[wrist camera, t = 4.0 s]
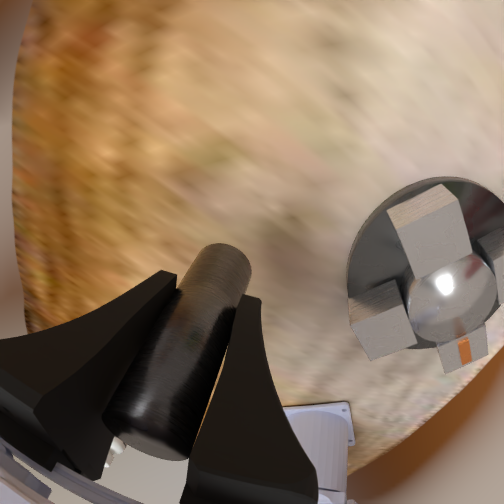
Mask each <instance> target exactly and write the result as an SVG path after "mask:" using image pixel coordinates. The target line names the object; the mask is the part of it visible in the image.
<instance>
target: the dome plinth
mask: <svg viewBox="0 0 504 504" xmlns="http://www.w3.org/2000/svg"><path fill="white" fill-rule="evenodd" d="M439 184H442V185H443V186H444V187H445V188H446V189H448V190H449V191H450V192H451V193H452V194H453V195H454V196H455V197H456V198H457V199H458V201H459V204H460V208H461V211H462V214H463V218H464V221H465V225H466V228H467V232H468V236H469V240H470V244H471V246H473V247H474V248H475V249H476V251H477V252H478V253H479V255H480V252H479V248H478V243H477V240H478V239H480V238H482V237H483V236H485V235H487V234H489V233H491V232H493V231H495V230H497V229H498V228H500V227H502V226H504V203H503V202H502V201H501V200H500V199H499V198H498V197H497V196H495V195H494V194H493V193H492V192H490V191H489V190H488V189H486V188H485V187H483V186H481V185H480V184H478V183H476V182H473V181H470V180H468V179H463V178H458V177H436V178H430V179H426V180H422V181H419V182H416V183H414V184H411V185H409V186H407V187H405V188H403V189H401V190H400V191H398V192H396V193H394V194H393V195H392V196H390V197H389V198H388V199H386V200H385V201H384V202H383V203H382V204H381V205H380V206H379V207H378V208H376V209H375V210H374V211H373V213H372V214H371V215H370V216H369V218H368V219H367V220H366V221H365V223H364V224H363V226H362V227H361V229H360V231H359V232H358V234H357V236H356V238H355V240H354V243H353V245H352V248H351V251H350V254H349V259H348V264H347V287H348V297H349V298H352V297H354V296H356V295H359V294H361V293H364V292H366V291H368V290H371V289H373V288H375V287H378V286H380V285H382V284H385V283H387V282H389V281H392V280H394V279H395V281H396V283H397V285H398V288H399V290H400V293H401V283H402V278H403V275H404V273H405V270H406V268H407V267H408V265H409V262H408V260H407V257H406V255H405V252H404V250H403V248H402V245H401V243H400V240H399V238H398V235H397V233H396V231H395V228H394V226H393V224H392V222H391V219H390V217H389V215H388V213H387V210H388V209H390V208H392V207H394V206H396V205H398V204H400V203H402V202H404V201H406V200H408V199H410V198H412V197H415V196H417V195H419V194H421V193H423V192H425V191H427V190H429V189H431V188H433V187H435V186H437V185H439ZM401 295H402V293H401ZM402 298H403V297H402ZM500 305H501V304H500ZM500 305H499V304H498V302H497V301H496V300H495V302H494V305H493V307H492V309H491V311H490V313H489V314H488V316H487V317H486V318H485V320H484V322H486V321H487V320H488V319H489V318H490V317H491V316H492V315H493V314H494V312H495V311H496V310H497V309H498V308H499V307H500ZM414 332H415V331H414ZM415 336H416V340H417V344H414V345H412V346H409V347H407V348H408V349H425V348H433V347H437V345H436V342H434V341H429V340H426V339H423V338H422V337H420V336H419V335H417V334H416V333H415Z"/></svg>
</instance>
